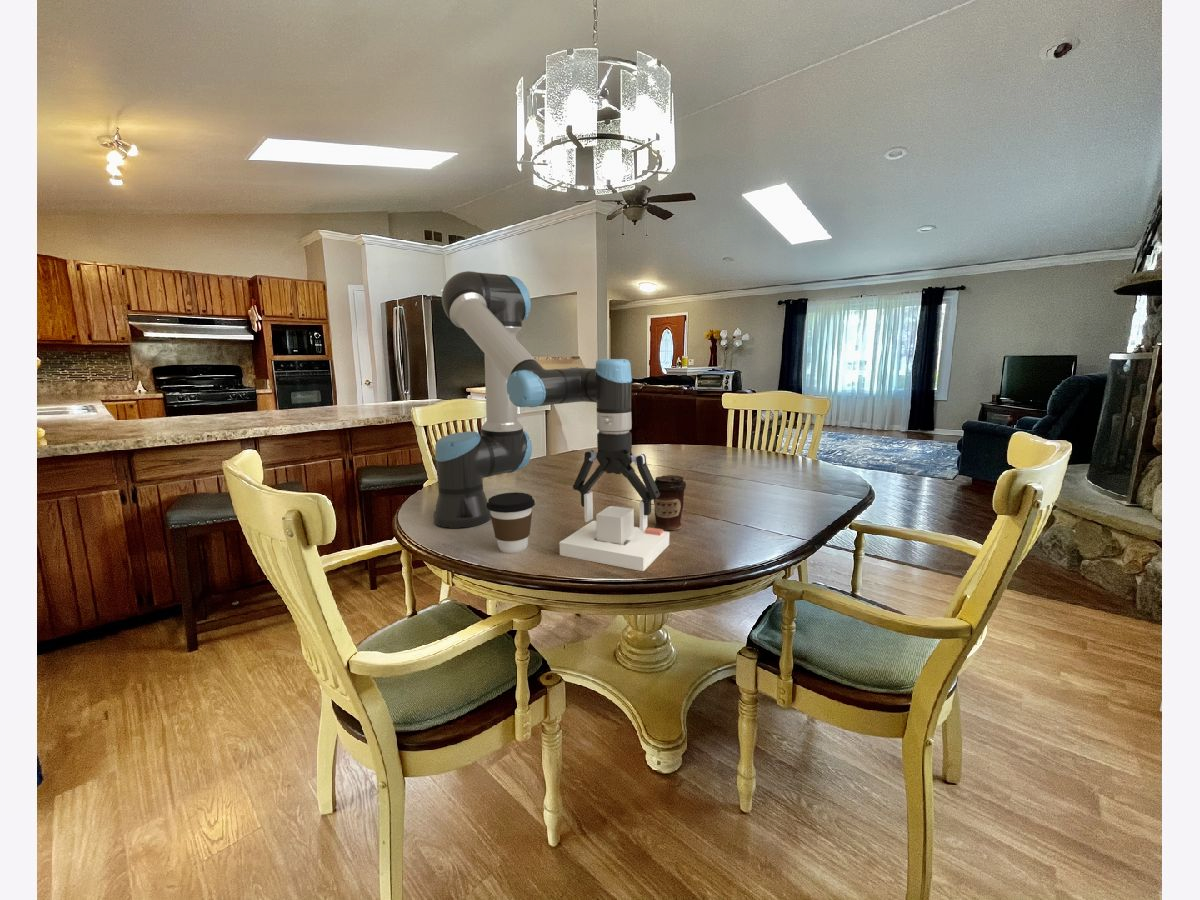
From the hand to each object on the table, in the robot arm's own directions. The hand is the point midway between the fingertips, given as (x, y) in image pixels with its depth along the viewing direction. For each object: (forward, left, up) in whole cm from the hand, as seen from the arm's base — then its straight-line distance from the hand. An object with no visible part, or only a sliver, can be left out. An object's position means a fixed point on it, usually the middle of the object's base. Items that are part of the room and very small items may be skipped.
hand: (615, 524), depth 112 cm
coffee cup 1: (-22, -9, -6) cm, 25 cm away
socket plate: (0, 0, -6) cm, 6 cm away
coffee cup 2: (+6, +19, -6) cm, 21 cm away
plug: (0, 0, -6) cm, 6 cm away
